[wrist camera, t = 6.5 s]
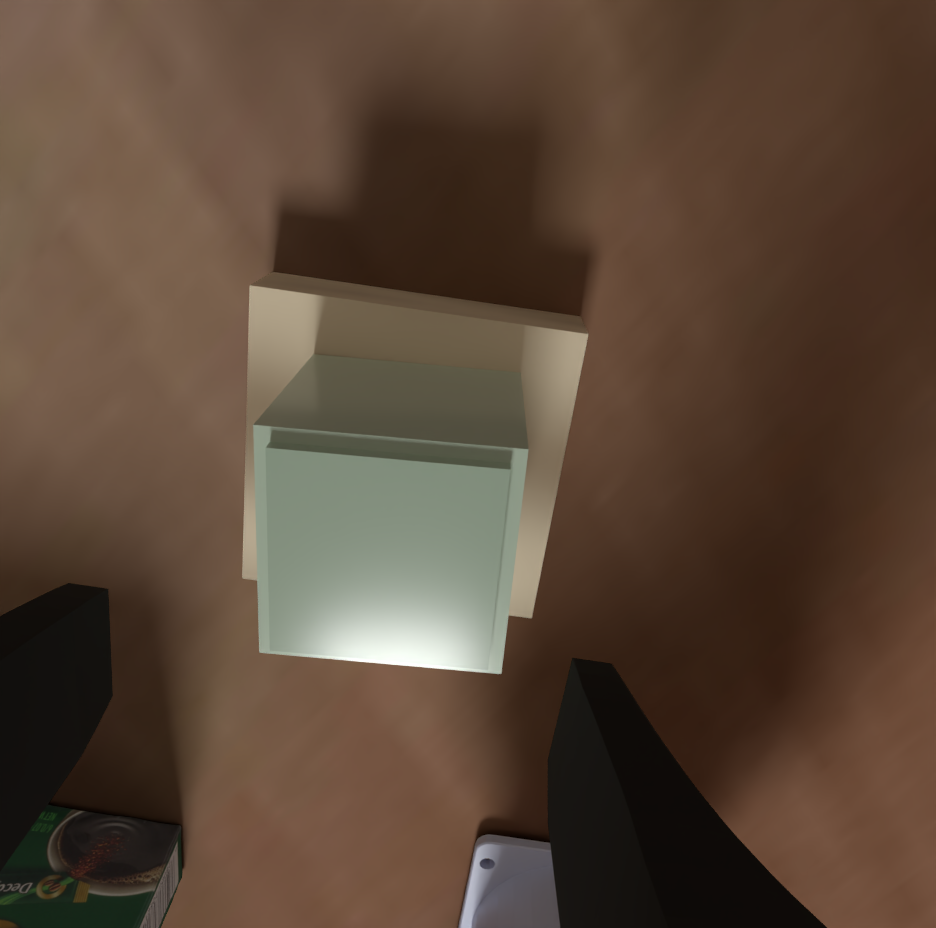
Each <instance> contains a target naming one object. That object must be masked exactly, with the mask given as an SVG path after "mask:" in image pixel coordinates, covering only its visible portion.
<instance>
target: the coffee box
mask: <svg viewBox="0 0 936 928" xmlns="http://www.w3.org/2000/svg"><path fill="white" fill-rule="evenodd" d="M181 878H182V858H181V826H180V825H171V824H163V823H157V822H151V821H146V820H142V819H137V818H131V817H123V816H112V815H106V814H100V813H94V812H87V811H81V810H75V809H69V808H63V807H57V806H52V805H47V806H46V808H45V809H44V810H43V812H42V813H41V815H40V816H39V818H38V819H37V820H36V822H35V823H34V825H33V826H32V827H31V829H30V830H29V832H28V833H27V835H26V836H25V837H24V839H23V840H22V842H21V843H20V844H19V846H18V847H17V849H16V850H15V852H14V853H13V854H12V856H11V857H10V859H9V860H8V861H7V863H6V864H5V866H4V867H3V869H2V870H1V871H0V928H161V926H162V924H163V921H164V919H165V916H166V914H167V912H168V910H169V907H170V905H171V903H172V900H173V897H174V895H175V893H176V890H177V887H178V884H179V882H180V880H181Z"/></svg>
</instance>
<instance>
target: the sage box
mask: <svg viewBox="0 0 936 928" xmlns="http://www.w3.org/2000/svg"><path fill="white" fill-rule="evenodd" d="M253 437H254V473H255V510H256V546H257V583H258V619H259V653H270V654H281V655H292V656H304V657H315V658H326V659H337V660H349V661H360V662H371V663H382V664H393V665H405V666H416V667H427V668H438V669H450V670H461V671H472V672H483V673H494V674H501V673H502V664H503V656H504V648H505V640H506V631H507V623H508V615H509V607H510V598H511V590H512V582H513V574H514V565H515V557H516V549H517V541H518V532H519V524H520V516H521V508H522V499H523V491H524V483H525V475H526V466H527V458H528V450H529V449H528V439H527V429H526V419H525V409H524V400H523V390H522V380H521V373H520V372H508V371H497V370H486V369H475V368H464V367H452V366H441V365H430V364H419V363H408V362H396V361H385V360H374V359H363V358H351V357H340V356H329V355H318V354H313V355H312V356H311V358H310V359H309V360H308V361H307V362H306V363H305V365H304V366H303V367H302V368H301V369H300V371H299V372H298V373H297V374H296V375H295V376H294V378H293V379H292V380H291V381H290V382H289V383H288V385H287V386H286V387H285V388H284V389H283V390H282V392H281V393H280V394H279V395H278V396H277V397H276V399H275V400H274V401H273V402H272V403H271V405H270V406H269V407H268V408H267V409H266V410H265V412H264V413H263V414H262V415H261V416H260V417H259V419H258V420H257V421H256V422H255V423H254V424H253Z"/></svg>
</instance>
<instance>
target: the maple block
mask: <svg viewBox="0 0 936 928" xmlns="http://www.w3.org/2000/svg"><path fill="white" fill-rule="evenodd" d="M587 339H588V332H587V330H586V328H585V325H584V323H583V321H582V318H581V316H574V315H567V314H560V313H553V312H547V311H540V310H533V309H526V308H519V307H512V306H505V305H498V304H491V303H485V302H478V301H471V300H464V299H457V298H450V297H443V296H436V295H429V294H423V293H416V292H409V291H402V290H395V289H388V288H381V287H374V286H367V285H360V284H354V283H347V282H340V281H333V280H326V279H319V278H312V277H305V276H298V275H292V274H285V273H278V272H272V273H270V274H268V275H267V276H265V277H263V278H262V279H260V280H258V281H256V282H255V283H253V284H251V285H250V295H249V335H248V374H247V414H246V453H245V493H244V532H243V572H242V578H244V579H251V580H257V546H256V510H255V473H254V437H253V424H254V423H255V422H256V421H257V420H258V419H259V417H260V416H261V415H262V414H263V413H264V412H265V410H266V409H267V408H268V407H269V406H270V405H271V403H272V402H273V401H274V400H275V399H276V397H277V396H278V395H279V394H280V393H281V392H282V390H283V389H284V388H285V387H286V386H287V385H288V383H289V382H290V381H291V380H292V379H293V378H294V376H295V375H296V374H297V373H298V372H299V371H300V369H301V368H302V367H303V366H304V365H305V363H306V362H307V361H308V360H309V359H310V358H311V356H312V355H313V354H318V355H329V356H340V357H351V358H363V359H374V360H385V361H396V362H408V363H419V364H430V365H441V366H452V367H464V368H475V369H486V370H497V371H508V372H520V373H521V380H522V390H523V400H524V409H525V419H526V429H527V439H528V449H529V450H528V458H527V466H526V475H525V483H524V491H523V499H522V508H521V516H520V524H519V532H518V541H517V549H516V557H515V565H514V574H513V582H512V590H511V598H510V607H509V615H510V616H518V617H525V618H532V614H533V609H534V604H535V599H536V594H537V589H538V584H539V579H540V574H541V569H542V564H543V559H544V554H545V549H546V544H547V539H548V534H549V529H550V524H551V519H552V514H553V509H554V504H555V499H556V494H557V489H558V484H559V479H560V474H561V469H562V464H563V459H564V454H565V449H566V444H567V439H568V434H569V429H570V424H571V419H572V414H573V409H574V404H575V399H576V394H577V389H578V384H579V379H580V374H581V369H582V364H583V359H584V354H585V349H586V344H587Z"/></svg>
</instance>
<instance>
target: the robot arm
mask: <svg viewBox="0 0 936 928" xmlns="http://www.w3.org/2000/svg"><path fill="white" fill-rule="evenodd" d="M112 696H113V693H112V669H111V645H110V621H109V597H108V589H105V588H98V587H91V586H84V585H78V584H71V583H68V584H66V585H63V586H61V587H59V588H56V589H54V590H52V591H50V592H48V593H46V594H44V595H41V596H39V597H37V598H35V599H33V600H31V601H29V602H27V603H25V604H23V605H21V606H19V607H17V608H15V609H13V610H11V611H9V612H7V613H5V614H3V615H2V616H0V871H1V870H2V869H3V867H4V866H5V864H6V863H7V861H8V860H9V859H10V857H11V856H12V854H13V853H14V852H15V850H16V849H17V847H18V846H19V844H20V843H21V842H22V840H23V839H24V837H25V836H26V835H27V833H28V832H29V830H30V829H31V827H32V826H33V825H34V823H35V822H36V820H37V819H38V818H39V816H40V815H41V813H42V812H43V810H44V809H45V808H46V806H47V805H48V803H49V802H50V801H51V799H52V798H53V796H54V795H55V793H56V792H57V790H58V789H59V788H60V786H61V785H62V783H63V782H64V780H65V779H66V777H67V776H68V775H69V773H70V772H71V770H72V769H73V767H74V766H75V764H76V763H77V761H78V760H79V758H80V757H81V755H82V754H83V752H84V750H85V748H86V746H87V744H88V743H89V741H90V739H91V737H92V735H93V733H94V732H95V730H96V728H97V726H98V724H99V722H100V720H101V718H102V716H103V714H104V712H105V710H106V708H107V706H108V704H109V702H110V700H111V698H112ZM548 827H549V837H550V843H547V842H540V841H533V840H527V839H520V838H513V837H506V836H499V835H492V834H487V835H483V836H481V837H479V838H478V839H477V841H476V843H475V847H474V852H473V857H472V862H471V867H470V872H469V877H468V881H467V886H466V891H465V896H464V901H463V906H462V911H461V915H460V920H459V925H458V928H827V927H826V926H825V925H824V924H823V923H821V922H820V921H819V920H818V919H817V918H816V917H815V916H814V915H813V914H812V913H811V912H810V911H809V910H808V909H806V908H805V907H804V906H803V905H802V904H801V903H800V902H799V901H798V900H797V899H796V898H795V897H794V896H793V895H792V894H791V893H790V892H789V891H788V890H787V889H786V888H785V887H784V886H783V885H782V884H781V883H780V882H779V881H778V880H777V879H776V878H775V877H774V876H773V875H772V874H771V873H770V872H769V871H768V870H767V869H766V868H765V867H764V866H763V865H762V864H761V863H760V861H759V860H758V859H757V858H756V857H755V856H754V855H753V854H752V853H751V852H750V851H749V850H748V849H747V847H746V846H745V845H744V844H743V843H742V842H741V841H740V840H739V839H738V838H737V837H736V836H735V834H734V833H733V832H732V831H731V830H730V829H729V827H728V826H727V825H726V824H725V823H724V822H723V820H722V819H721V818H720V817H719V816H718V814H717V813H716V812H715V811H714V809H713V808H712V807H711V806H710V805H709V803H708V802H707V801H706V800H705V798H704V797H703V796H702V795H701V793H700V792H699V791H698V790H697V788H696V787H695V786H694V784H693V783H692V782H691V780H690V779H689V778H688V776H687V775H686V774H685V772H684V771H683V769H682V768H681V767H680V765H679V764H678V762H677V761H676V760H675V758H674V757H673V755H672V754H671V753H670V751H669V750H668V748H667V747H666V746H665V744H664V743H663V741H662V740H661V738H660V737H659V735H658V734H657V733H656V731H655V730H654V728H653V727H652V725H651V724H650V722H649V721H648V719H647V717H646V716H645V714H644V713H643V711H642V710H641V708H640V707H639V705H638V704H637V702H636V701H635V699H634V697H633V696H632V694H631V693H630V691H629V690H628V688H627V686H626V685H625V683H624V682H623V680H622V679H621V677H620V675H619V674H618V672H617V671H616V669H615V668H614V667H613V665H612V664H610V663H603V662H597V661H590V660H583V659H576V658H572V662H571V666H570V670H569V674H568V679H567V683H566V687H565V691H564V695H563V699H562V703H561V708H560V712H559V716H558V720H557V724H556V728H555V732H554V736H553V741H552V745H551V749H550V753H549V757H548ZM485 858H489V859H488V860H486V859H485Z"/></svg>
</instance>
